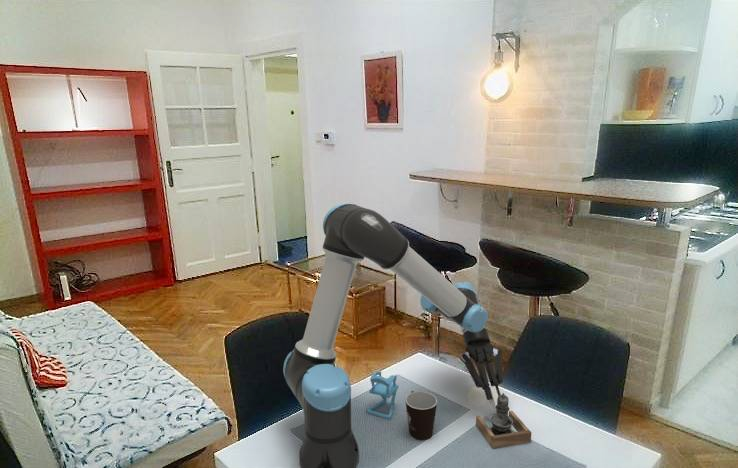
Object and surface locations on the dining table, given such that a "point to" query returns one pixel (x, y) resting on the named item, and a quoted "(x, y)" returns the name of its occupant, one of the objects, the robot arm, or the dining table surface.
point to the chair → (383, 392)
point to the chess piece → (501, 417)
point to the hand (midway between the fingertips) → (497, 411)
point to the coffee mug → (421, 414)
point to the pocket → (505, 439)
